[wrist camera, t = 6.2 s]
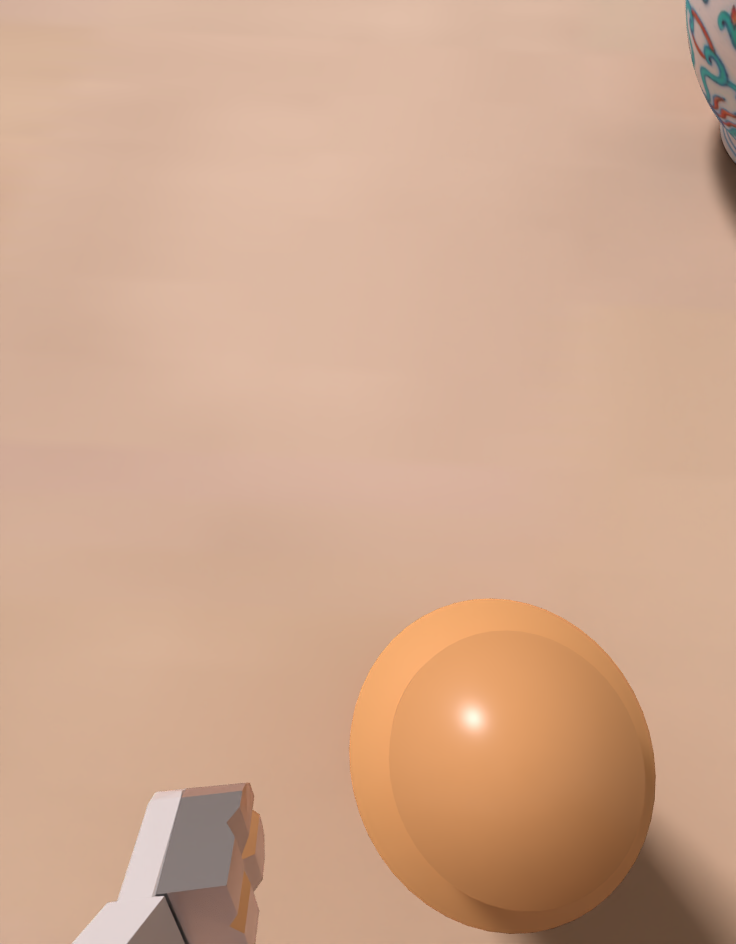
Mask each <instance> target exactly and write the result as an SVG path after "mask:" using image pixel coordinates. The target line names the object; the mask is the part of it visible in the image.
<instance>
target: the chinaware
mask: <svg viewBox="0 0 736 944" xmlns="http://www.w3.org/2000/svg"><path fill="white" fill-rule="evenodd" d="M686 26H687V36H688V43H689V49H690V54H691V58H692V62H693V66H694V70H695V73H696V76H697V79H698V81H699V84H700V87H701V89H702V91H703V94H704V96H705V98H706V100H707V102H708V104H709V106H710V107H711V109H712V111H713V112H714V114H715V115H716V117H717V118H718V120H719V121H720V133H721V138H722V142H723V144H724V147H725V149H726V151H727V152H728V154H729V156H730V157H731V158H732V160H733V161H734V162H735V163H736V0H686Z"/></svg>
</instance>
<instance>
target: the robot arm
mask: <svg viewBox="0 0 736 944" xmlns="http://www.w3.org/2000/svg"><path fill="white" fill-rule="evenodd" d="M253 802H254V794H253V791H252V788H251V785H250V783H240V784H229V785H219V786H208V787H198V788H187V789H178V790H170V791H161V792H155V794H154V795H153V797H152V798H151V800H150V801H149V803H148V806H147V809H146V812H145V815H144V818H143V821H142V825H141V828H140V831H139V834H138V837H137V840H136V843H135V846H134V850H133V853H132V856H131V859H130V862H129V865H128V868H127V871H126V875H125V878H124V881H123V884H122V887H121V890H120V893H119V896H118V900H117V901H114V902H108V903H106V905H105V906H104V907H103V908H102V909H101V910H100V912H99V913H98V914H97V915H96V916H95V917H94V918H93V920H92V921H91V922H90V923H89V924H88V925H87V926H86V928H85V929H84V930H83V931H82V932H81V933H80V935H79V936H78V937H77V938H76V939H75V940H74V941H73V943H72V944H255V942H256V934H257V925H258V916H259V908H258V905H257V902H256V899H255V896H254V891H255V890H256V888H257V887H258V885H259V884H260V882H261V881H262V880H263V871H264V860H265V848H264V832H263V825H262V821H261V817H260V814H258V813H257V812H255V811H254V810H252V809H253Z"/></svg>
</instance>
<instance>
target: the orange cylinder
mask: <svg viewBox="0 0 736 944" xmlns="http://www.w3.org/2000/svg"><path fill="white" fill-rule="evenodd" d="M349 752H350V772H351V779H352V785H353V791H354V795H355V799H356V802H357V806H358V809H359V813H360V816H361V818H362V821H363V823H364V825H365V828H366V830H367V833H368V835H369V837H370V839H371V840H372V842H373V844H374V846H375V847H376V849H377V851H378V853H379V855H380V856H381V857H382V859H383V860H384V861H385V863H386V864H387V866H388V867H389V868H390V870H391V871H392V872H393V874H394V875H395V876H396V877H397V878H398V879H399V880H400V881H401V882H402V883H403V884H404V885H405V886H406V887H407V888H408V890H410V891H411V892H412V893H413V894H414V895H416V896H417V897H418V898H419V899H421V900H422V901H423V902H424V903H425V904H427V905H428V906H430V907H432V908H433V909H435V910H436V911H438V912H440V913H441V914H443V915H445V916H446V917H449V918H451V919H453V920H456V921H458V922H460V923H462V924H465V925H467V926H471V927H475V928H478V929H482V930H486V931H491V932H500V933H509V934H515V933H533V932H538V931H543V930H548V929H553V928H556V927H558V926H561V925H563V924H566V923H569V922H571V921H574V920H575V919H577V918H579V917H580V916H582V915H584V914H586V913H587V912H589V911H591V910H592V909H594V908H595V907H596V906H597V905H598V904H600V903H601V902H602V901H603V900H605V899H606V898H607V897H608V896H609V895H610V894H611V893H612V892H613V891H614V890H615V888H616V887H617V886H618V885H619V884H620V883H621V882H622V881H623V879H624V878H625V876H626V875H627V873H628V872H629V870H630V869H631V867H632V866H633V864H634V863H635V861H636V859H637V857H638V854H639V852H640V850H641V848H642V846H643V844H644V841H645V838H646V835H647V832H648V828H649V825H650V822H651V817H652V811H653V805H654V800H655V779H656V775H655V763H654V753H653V748H652V743H651V738H650V733H649V730H648V726H647V723H646V720H645V717H644V714H643V711H642V709H641V707H640V705H639V702H638V700H637V698H636V696H635V694H634V692H633V690H632V688H631V687H630V685H629V683H628V682H627V680H626V678H625V677H624V675H623V673H622V672H621V671H620V669H619V668H618V667H617V665H616V664H615V663H614V662H613V660H612V659H611V658H610V656H609V655H608V654H607V653H606V652H605V651H604V650H603V649H602V648H601V647H600V646H599V645H598V644H597V643H596V642H595V641H594V640H593V639H591V638H590V637H589V636H588V635H587V634H585V633H584V632H583V631H582V630H580V629H579V628H578V627H576V626H574V625H573V624H571V623H570V622H568V621H567V620H565V619H563V618H562V617H560V616H557V615H555V614H553V613H551V612H549V611H547V610H545V609H542V608H539V607H536V606H533V605H530V604H527V603H522V602H517V601H512V600H504V599H475V600H468V601H463V602H458V603H454V604H451V605H448V606H445V607H442V608H439V609H437V610H435V611H433V612H431V613H429V614H427V615H425V616H423V617H421V618H419V619H418V620H417V621H415V622H414V623H412V624H411V625H409V626H408V627H406V628H405V629H404V630H403V631H402V632H401V633H400V634H399V635H397V636H396V637H395V638H394V639H393V640H392V641H391V642H390V644H389V645H388V646H387V647H386V648H385V649H384V651H383V652H382V653H381V654H380V656H379V657H378V659H377V660H376V662H375V663H374V665H373V667H372V668H371V670H370V671H369V674H368V676H367V678H366V680H365V682H364V684H363V686H362V688H361V691H360V694H359V697H358V700H357V703H356V706H355V710H354V715H353V720H352V725H351V734H350V747H349Z"/></svg>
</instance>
